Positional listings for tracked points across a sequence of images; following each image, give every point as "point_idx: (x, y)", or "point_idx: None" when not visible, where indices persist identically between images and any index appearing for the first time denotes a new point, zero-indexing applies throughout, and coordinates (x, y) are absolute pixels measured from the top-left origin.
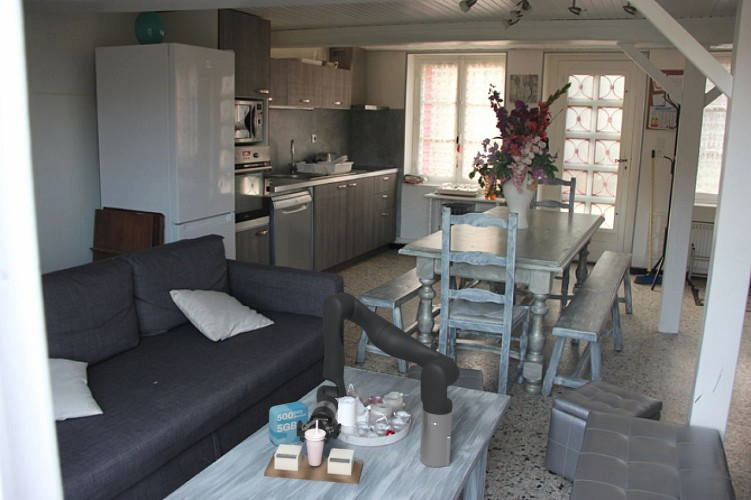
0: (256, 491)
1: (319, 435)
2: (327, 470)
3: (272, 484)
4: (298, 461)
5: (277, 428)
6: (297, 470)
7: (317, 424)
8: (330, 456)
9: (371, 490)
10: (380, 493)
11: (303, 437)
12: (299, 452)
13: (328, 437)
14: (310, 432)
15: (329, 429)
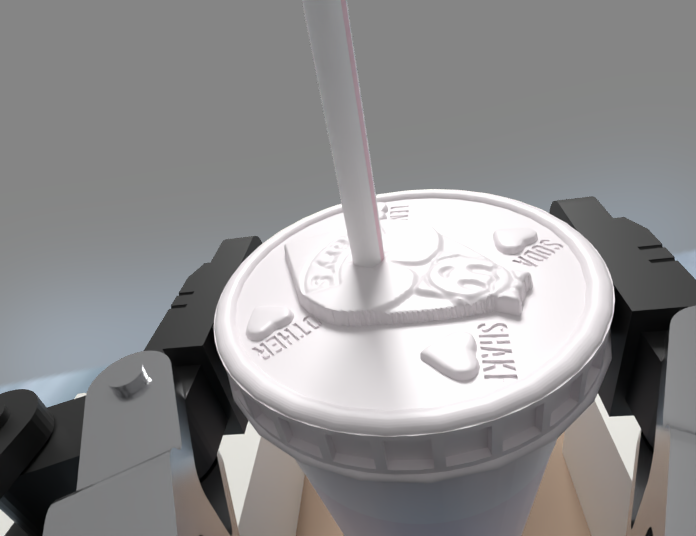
0: (684, 266)
1: (321, 241)
2: (308, 505)
3: None
4: (579, 432)
5: None
6: (564, 451)
7: (325, 75)
8: (247, 426)
9: (74, 392)
10: (43, 378)
11: (552, 207)
12: (616, 441)
13: (197, 284)
14: (493, 263)
15: (95, 458)
